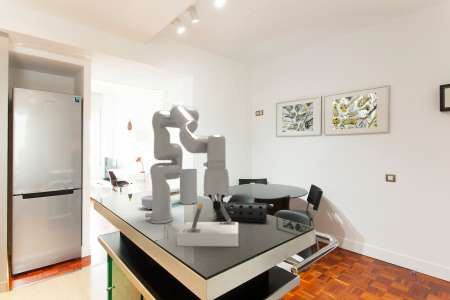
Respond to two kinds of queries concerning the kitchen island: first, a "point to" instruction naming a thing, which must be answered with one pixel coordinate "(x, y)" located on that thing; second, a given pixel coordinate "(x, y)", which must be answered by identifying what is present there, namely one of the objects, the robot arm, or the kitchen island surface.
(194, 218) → the lever
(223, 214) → the lever
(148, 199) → the paper bowls
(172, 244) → the kitchen island surface
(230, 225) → the panel
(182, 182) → the cylinder vase
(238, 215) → the muzzle brake
